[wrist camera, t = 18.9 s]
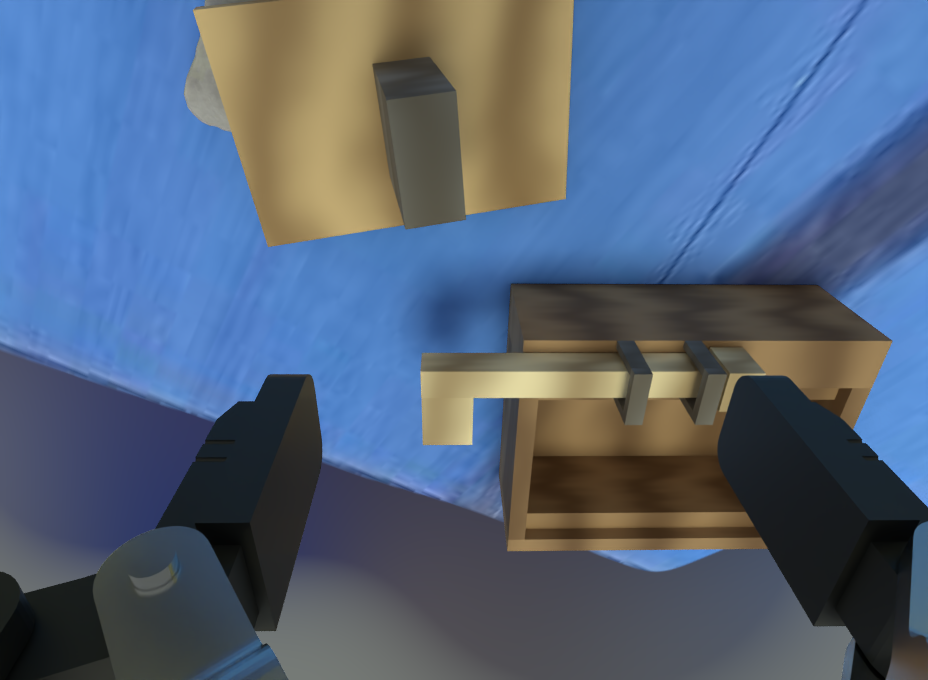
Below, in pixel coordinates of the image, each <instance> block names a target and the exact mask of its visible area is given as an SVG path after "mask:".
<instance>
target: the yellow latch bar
mask: <svg viewBox="0 0 928 680" xmlns="http://www.w3.org/2000/svg"><path fill="white" fill-rule="evenodd" d="M709 351H710V353H711V354H712V355H713V356H714V358H715V359H716V360H717V362H718V363H719V364H720V366H721V367H722V368H723V370H724V371H725V372H726V373H727V377H726V380H725V384H724V387H723V391H722V394H721V398H720V401H719V404H718V408H717V410H718V411H719V412H727V409H728V406H729V403H730V399H731V396H732V393H733V389H734V386H735V384H736V382H737V380H738V379H739V378H740V377H741V376H746V375H766V373H765V372H764V371H763V369H762V368H761V367H760V366H759V365H758V364H757V363H756V361H755V360H754V359H753V358H752V357H751V356H750V355H749V353H748V352H747V351H746V350H745V349H744V348H743V347H710V349H709ZM641 354H642V355H643V357H644V359H645V361H646V363H647V364H648V366H649V368H650V370H651V372H652V373H653V378H652V382H651V387H650V391H649V396H648V398H697V394H698V391H699V387H700V383H701V379H702V375H701V373H700V372H699V370H698V369H697V368H696V366H695V365H694V363H693V362H692V360H691V359H690V357H689V356H688V355H687V353H641ZM629 378H630V375H629V373H628V371H627V369H626V367H625V365H624V363H623V361H622V359H621V357H620V355H619V353H422V360H421V398H422V428H423V445H472V428H473V398H626V394H627V389H628V384H629Z"/></svg>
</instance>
